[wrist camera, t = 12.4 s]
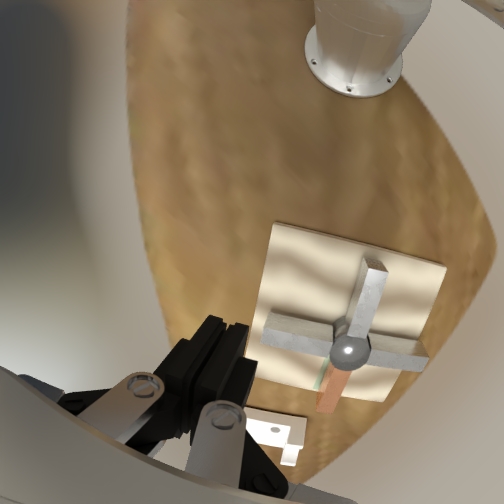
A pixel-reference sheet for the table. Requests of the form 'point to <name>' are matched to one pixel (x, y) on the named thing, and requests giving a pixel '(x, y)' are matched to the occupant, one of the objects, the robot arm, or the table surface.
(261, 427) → the bracket
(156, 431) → the robot arm
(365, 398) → the base plate
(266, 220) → the table surface
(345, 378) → the capstan
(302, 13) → the table surface
